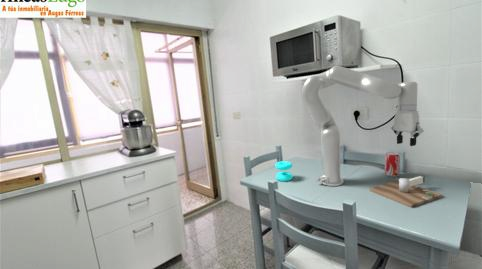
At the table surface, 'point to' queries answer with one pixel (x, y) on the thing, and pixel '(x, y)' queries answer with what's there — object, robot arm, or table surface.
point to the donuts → (284, 175)
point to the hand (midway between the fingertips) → (406, 144)
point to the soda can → (392, 164)
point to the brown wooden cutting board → (406, 194)
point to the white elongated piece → (410, 183)
